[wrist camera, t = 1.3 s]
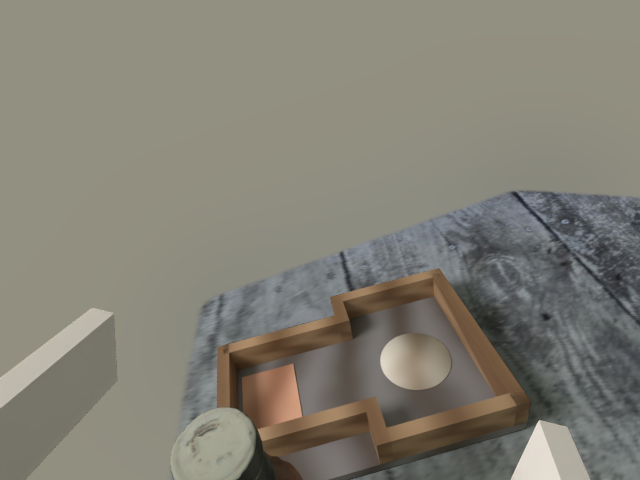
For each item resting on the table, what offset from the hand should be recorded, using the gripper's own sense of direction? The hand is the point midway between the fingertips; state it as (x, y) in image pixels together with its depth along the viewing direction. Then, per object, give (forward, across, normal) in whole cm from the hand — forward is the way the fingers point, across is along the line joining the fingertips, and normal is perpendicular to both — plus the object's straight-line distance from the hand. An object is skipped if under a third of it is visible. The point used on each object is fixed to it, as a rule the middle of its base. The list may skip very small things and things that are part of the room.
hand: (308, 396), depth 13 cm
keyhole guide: (+25, +2, -20) cm, 32 cm away
